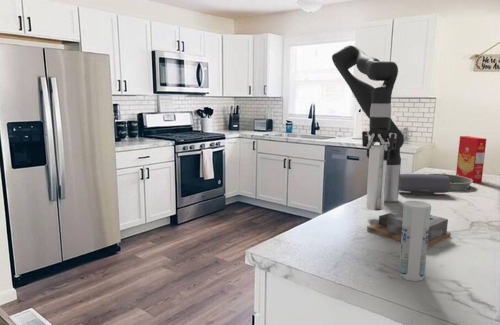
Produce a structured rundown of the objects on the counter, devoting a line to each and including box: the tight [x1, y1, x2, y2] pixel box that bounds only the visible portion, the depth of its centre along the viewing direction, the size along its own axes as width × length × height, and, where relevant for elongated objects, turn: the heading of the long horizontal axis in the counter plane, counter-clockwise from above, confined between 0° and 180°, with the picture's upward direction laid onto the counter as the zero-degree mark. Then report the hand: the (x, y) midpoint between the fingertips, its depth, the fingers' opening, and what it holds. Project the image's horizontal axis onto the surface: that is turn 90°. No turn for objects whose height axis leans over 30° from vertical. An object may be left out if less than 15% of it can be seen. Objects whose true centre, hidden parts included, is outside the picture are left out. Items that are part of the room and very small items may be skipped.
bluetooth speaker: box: [399, 173, 451, 196], centre depth 184 cm, size 23×9×10 cm, turn 80°
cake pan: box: [430, 173, 473, 191], centre depth 202 cm, size 25×25×4 cm
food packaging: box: [455, 135, 487, 184], centre depth 215 cm, size 15×5×25 cm, turn 6°
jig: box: [366, 211, 452, 248], centre depth 130 cm, size 21×18×6 cm
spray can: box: [398, 200, 432, 282], centre depth 98 cm, size 6×6×20 cm
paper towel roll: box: [365, 144, 387, 212], centre depth 144 cm, size 6×6×25 cm
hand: (377, 159), depth 143 cm, fingers closed on paper towel roll, 6 cm apart
